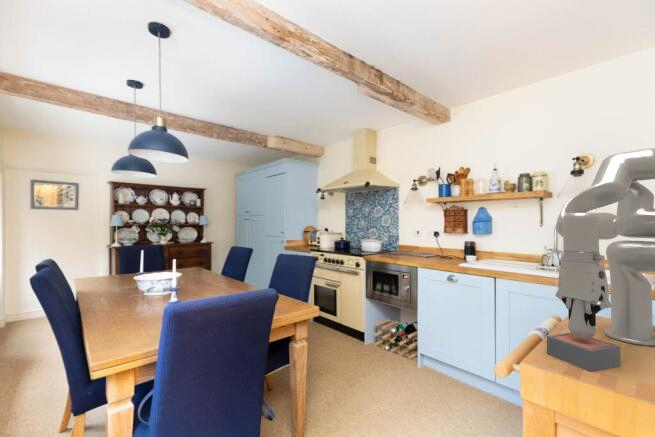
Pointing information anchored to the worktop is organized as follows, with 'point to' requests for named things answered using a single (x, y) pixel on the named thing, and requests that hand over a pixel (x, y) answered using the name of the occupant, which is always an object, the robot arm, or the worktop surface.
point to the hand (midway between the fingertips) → (581, 325)
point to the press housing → (584, 354)
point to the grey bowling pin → (580, 322)
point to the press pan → (583, 342)
